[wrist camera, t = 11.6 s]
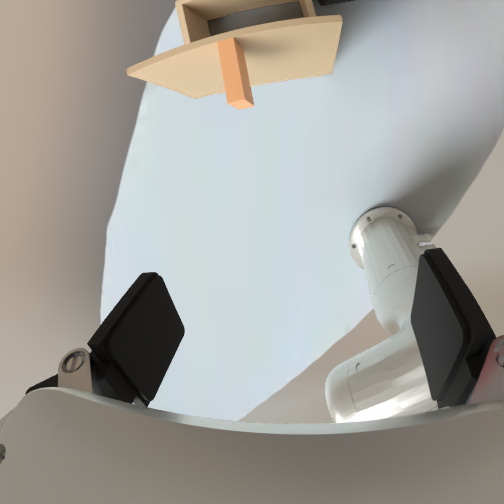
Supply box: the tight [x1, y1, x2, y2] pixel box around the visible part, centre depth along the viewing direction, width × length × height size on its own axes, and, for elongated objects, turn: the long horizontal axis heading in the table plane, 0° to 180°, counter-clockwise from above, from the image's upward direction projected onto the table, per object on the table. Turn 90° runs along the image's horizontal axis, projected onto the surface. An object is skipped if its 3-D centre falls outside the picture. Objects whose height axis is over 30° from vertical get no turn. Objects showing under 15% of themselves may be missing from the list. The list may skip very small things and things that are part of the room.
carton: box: [175, 0, 325, 94], centre depth 29 cm, size 16×14×10 cm
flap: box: [127, 15, 343, 109], centre depth 22 cm, size 16×14×6 cm
